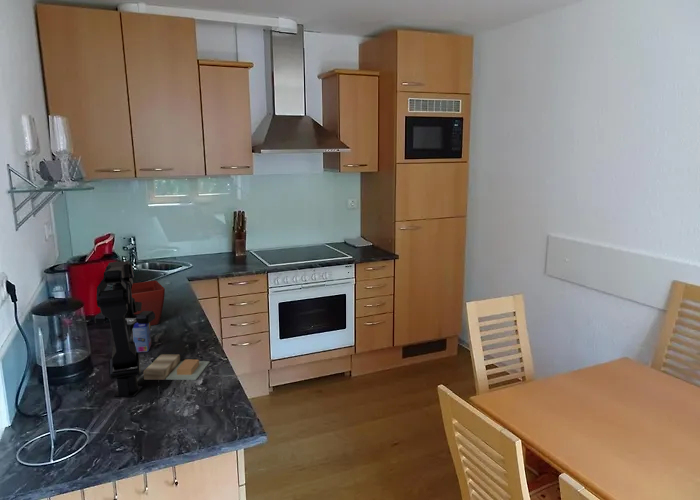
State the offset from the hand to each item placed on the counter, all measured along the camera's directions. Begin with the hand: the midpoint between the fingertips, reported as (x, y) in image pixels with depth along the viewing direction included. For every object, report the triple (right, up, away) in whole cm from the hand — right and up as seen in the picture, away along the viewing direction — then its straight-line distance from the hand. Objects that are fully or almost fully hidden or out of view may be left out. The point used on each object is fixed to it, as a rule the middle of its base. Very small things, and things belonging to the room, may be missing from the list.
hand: (127, 340), depth 170 cm
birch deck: (+11, -11, +4) cm, 16 cm away
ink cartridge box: (-5, -8, +24) cm, 26 cm away
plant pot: (-17, -2, +52) cm, 55 cm away
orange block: (+20, -9, +3) cm, 22 cm away
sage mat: (+20, -11, +3) cm, 23 cm away
